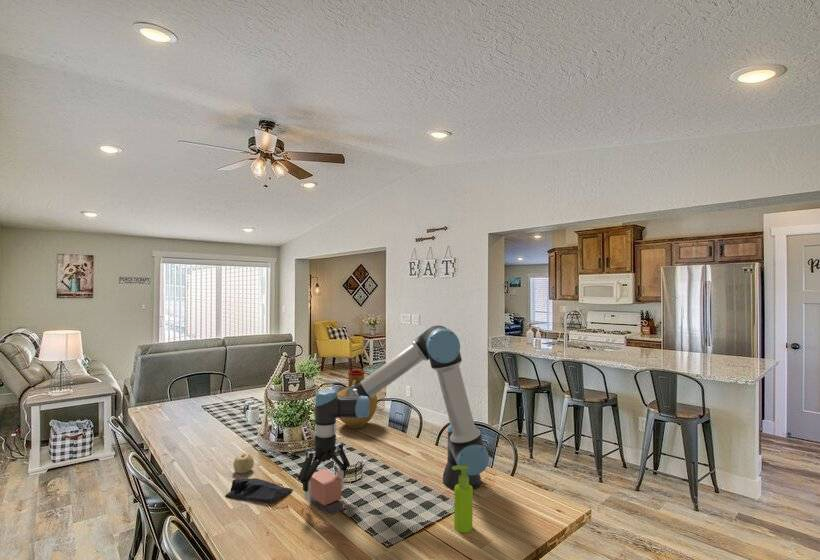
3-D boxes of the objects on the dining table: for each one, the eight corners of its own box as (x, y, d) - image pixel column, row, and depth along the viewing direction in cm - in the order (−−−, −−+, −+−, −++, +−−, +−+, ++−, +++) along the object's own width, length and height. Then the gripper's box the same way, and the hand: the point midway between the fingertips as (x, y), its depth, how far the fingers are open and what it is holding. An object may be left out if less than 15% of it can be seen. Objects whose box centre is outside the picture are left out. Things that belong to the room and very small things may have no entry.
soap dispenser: (449, 523, 144) (450, 462, 144) (470, 522, 144) (470, 462, 145) (452, 533, 138) (453, 470, 138) (474, 532, 139) (474, 469, 139)
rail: (343, 509, 151) (343, 503, 151) (330, 514, 148) (330, 508, 148) (318, 492, 163) (318, 487, 163) (306, 497, 160) (306, 491, 160)
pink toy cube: (341, 505, 154) (341, 479, 154) (324, 512, 149) (324, 485, 149) (324, 494, 162) (324, 469, 162) (307, 500, 157) (308, 474, 157)
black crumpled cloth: (268, 510, 151) (268, 496, 151) (221, 497, 160) (221, 484, 160) (296, 491, 165) (296, 478, 165) (251, 480, 174) (251, 468, 174)
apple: (257, 466, 185) (257, 454, 181) (244, 481, 178) (244, 469, 175) (243, 458, 187) (242, 446, 183) (229, 472, 180) (228, 460, 177)
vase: (375, 433, 228) (375, 376, 228) (329, 432, 228) (330, 375, 228) (378, 419, 251) (379, 367, 252) (337, 418, 252) (338, 367, 252)
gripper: (348, 424, 167) (347, 479, 167) (288, 439, 150) (287, 501, 150) (359, 429, 161) (358, 486, 161) (299, 445, 144) (298, 509, 144)
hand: (324, 493), depth 156 cm, fingers open, 13 cm apart
